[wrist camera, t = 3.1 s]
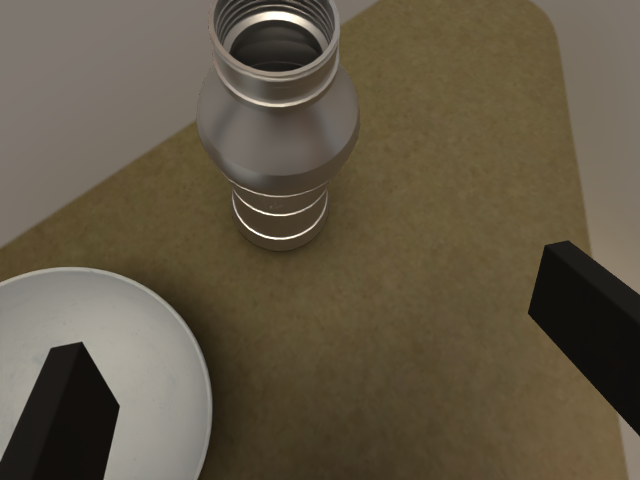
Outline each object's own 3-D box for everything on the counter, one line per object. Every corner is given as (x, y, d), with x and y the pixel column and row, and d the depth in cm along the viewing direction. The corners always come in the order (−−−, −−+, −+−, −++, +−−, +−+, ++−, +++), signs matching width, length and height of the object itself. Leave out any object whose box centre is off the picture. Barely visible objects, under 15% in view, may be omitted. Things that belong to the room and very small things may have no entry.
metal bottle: (232, 177, 31) (145, -74, 12) (321, 170, 32) (376, -76, 13) (238, 261, 30) (151, 134, 11) (330, 252, 31) (409, 118, 11)
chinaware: (148, 240, 30) (102, 210, 22) (276, 412, 28) (272, 442, 21) (-51, 379, 27) (-180, 398, 19) (78, 580, 25) (-10, 686, 18)
